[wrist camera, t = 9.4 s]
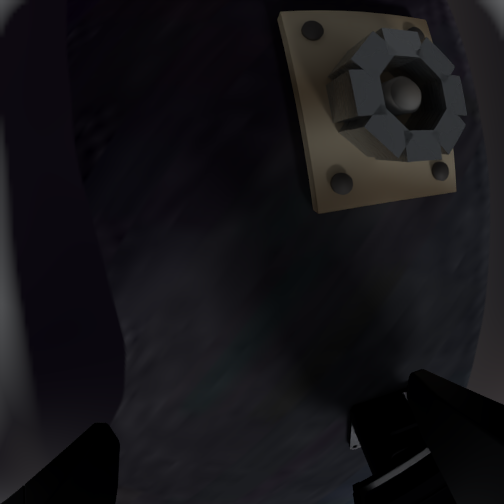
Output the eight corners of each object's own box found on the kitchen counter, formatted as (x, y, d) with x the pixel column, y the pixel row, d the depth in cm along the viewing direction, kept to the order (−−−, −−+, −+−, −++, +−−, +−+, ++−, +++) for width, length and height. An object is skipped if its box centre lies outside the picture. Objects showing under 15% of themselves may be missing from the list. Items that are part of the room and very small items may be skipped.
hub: (435, 154, 16) (472, 157, 13) (339, 164, 16) (365, 166, 13) (417, 52, 14) (449, 37, 11) (317, 48, 14) (337, 25, 11)
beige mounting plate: (446, 189, 18) (489, 200, 14) (313, 210, 18) (338, 227, 14) (416, 24, 15) (454, 4, 10) (277, 19, 15) (291, -16, 10)
